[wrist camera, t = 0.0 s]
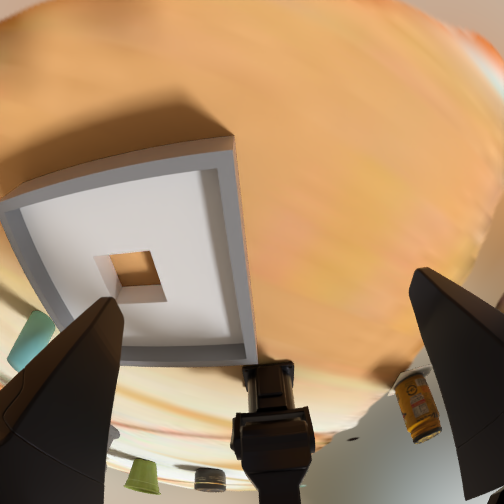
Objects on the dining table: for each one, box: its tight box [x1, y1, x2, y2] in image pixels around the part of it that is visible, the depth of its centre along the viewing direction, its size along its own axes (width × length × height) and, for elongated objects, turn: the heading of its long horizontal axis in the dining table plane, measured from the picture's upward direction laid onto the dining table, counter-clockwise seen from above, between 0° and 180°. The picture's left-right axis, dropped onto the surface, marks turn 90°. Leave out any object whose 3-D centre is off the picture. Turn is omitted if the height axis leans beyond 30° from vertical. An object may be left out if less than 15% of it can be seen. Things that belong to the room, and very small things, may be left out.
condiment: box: [388, 364, 442, 444], centre depth 36 cm, size 7×8×12 cm
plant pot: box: [124, 459, 161, 495], centre depth 63 cm, size 12×12×11 cm
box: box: [0, 135, 258, 367], centre depth 23 cm, size 20×20×4 cm
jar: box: [194, 468, 226, 492], centre depth 68 cm, size 10×10×8 cm
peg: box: [7, 311, 55, 372], centre depth 26 cm, size 4×4×8 cm
